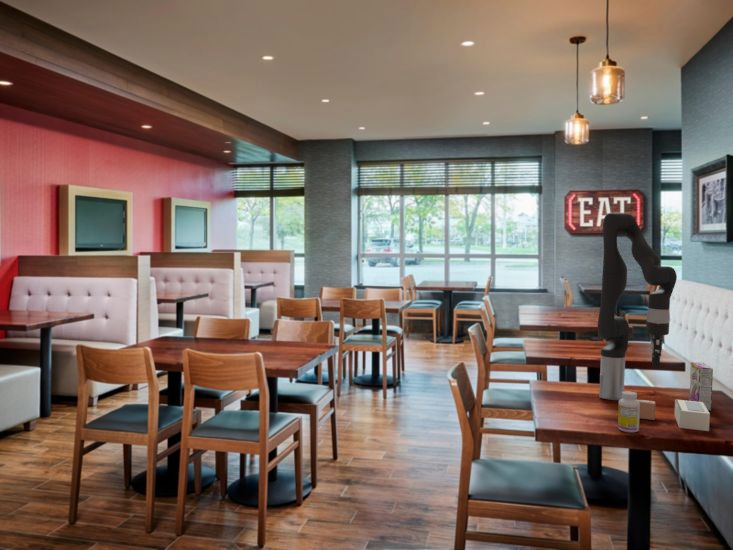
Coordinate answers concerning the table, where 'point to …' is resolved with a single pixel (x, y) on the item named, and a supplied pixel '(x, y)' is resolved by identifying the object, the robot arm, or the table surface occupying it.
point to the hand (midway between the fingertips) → (655, 364)
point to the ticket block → (692, 415)
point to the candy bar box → (701, 383)
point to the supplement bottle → (628, 412)
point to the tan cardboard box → (647, 409)
